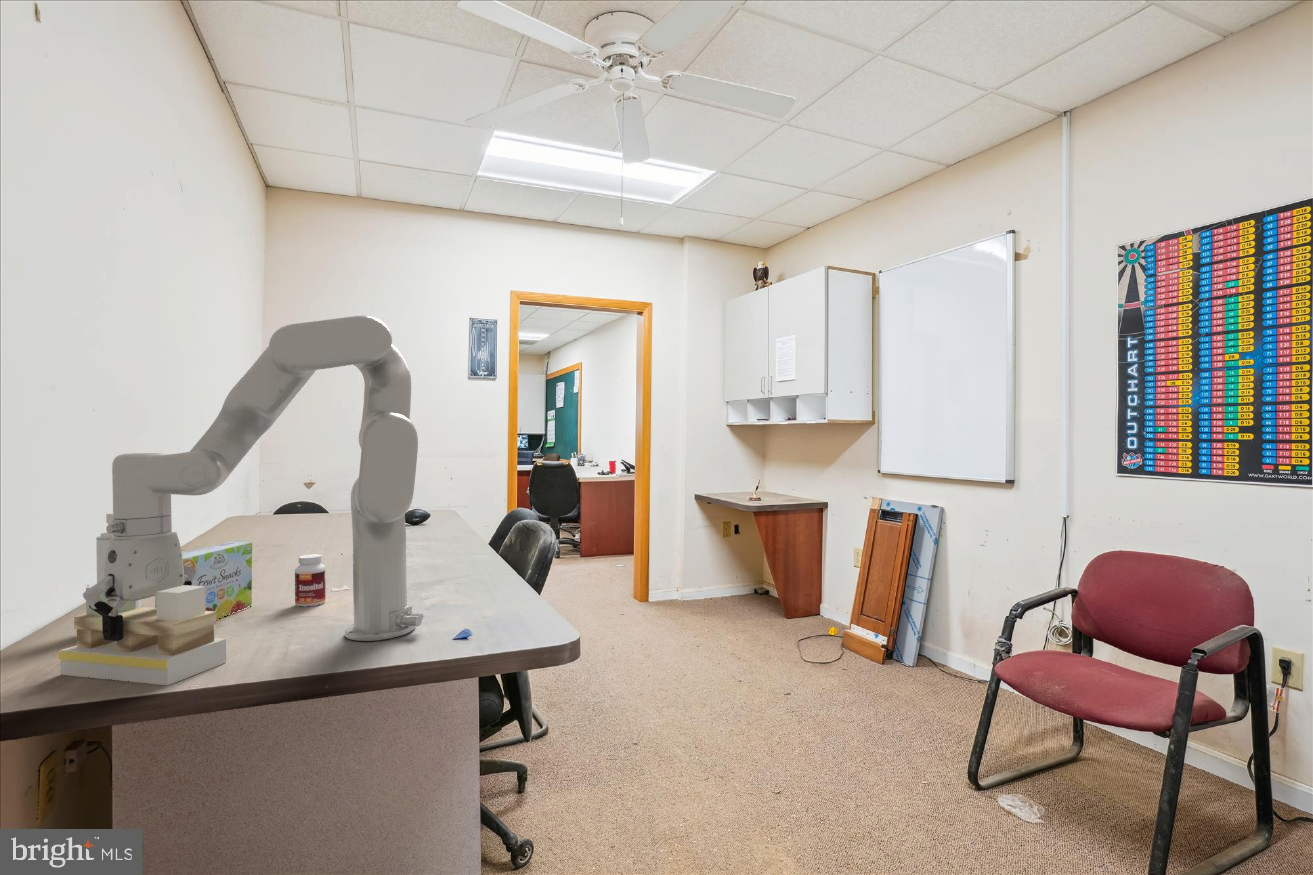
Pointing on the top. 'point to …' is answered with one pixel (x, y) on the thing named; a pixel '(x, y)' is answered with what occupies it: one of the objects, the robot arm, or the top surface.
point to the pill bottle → (310, 581)
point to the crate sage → (128, 606)
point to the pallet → (149, 631)
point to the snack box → (223, 576)
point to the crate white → (180, 603)
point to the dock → (141, 662)
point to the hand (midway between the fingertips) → (144, 630)
